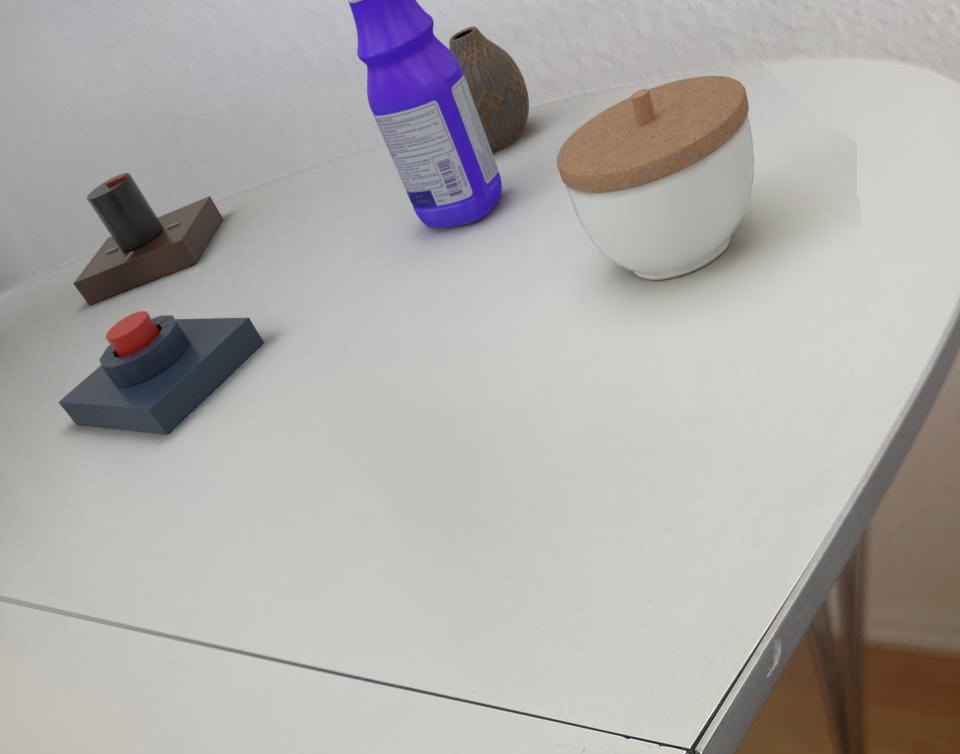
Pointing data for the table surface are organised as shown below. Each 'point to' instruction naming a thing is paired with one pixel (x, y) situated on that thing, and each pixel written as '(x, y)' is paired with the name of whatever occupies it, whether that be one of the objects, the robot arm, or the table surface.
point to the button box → (162, 375)
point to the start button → (132, 333)
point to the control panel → (151, 253)
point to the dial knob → (125, 212)
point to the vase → (492, 86)
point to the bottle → (425, 114)
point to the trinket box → (663, 175)
